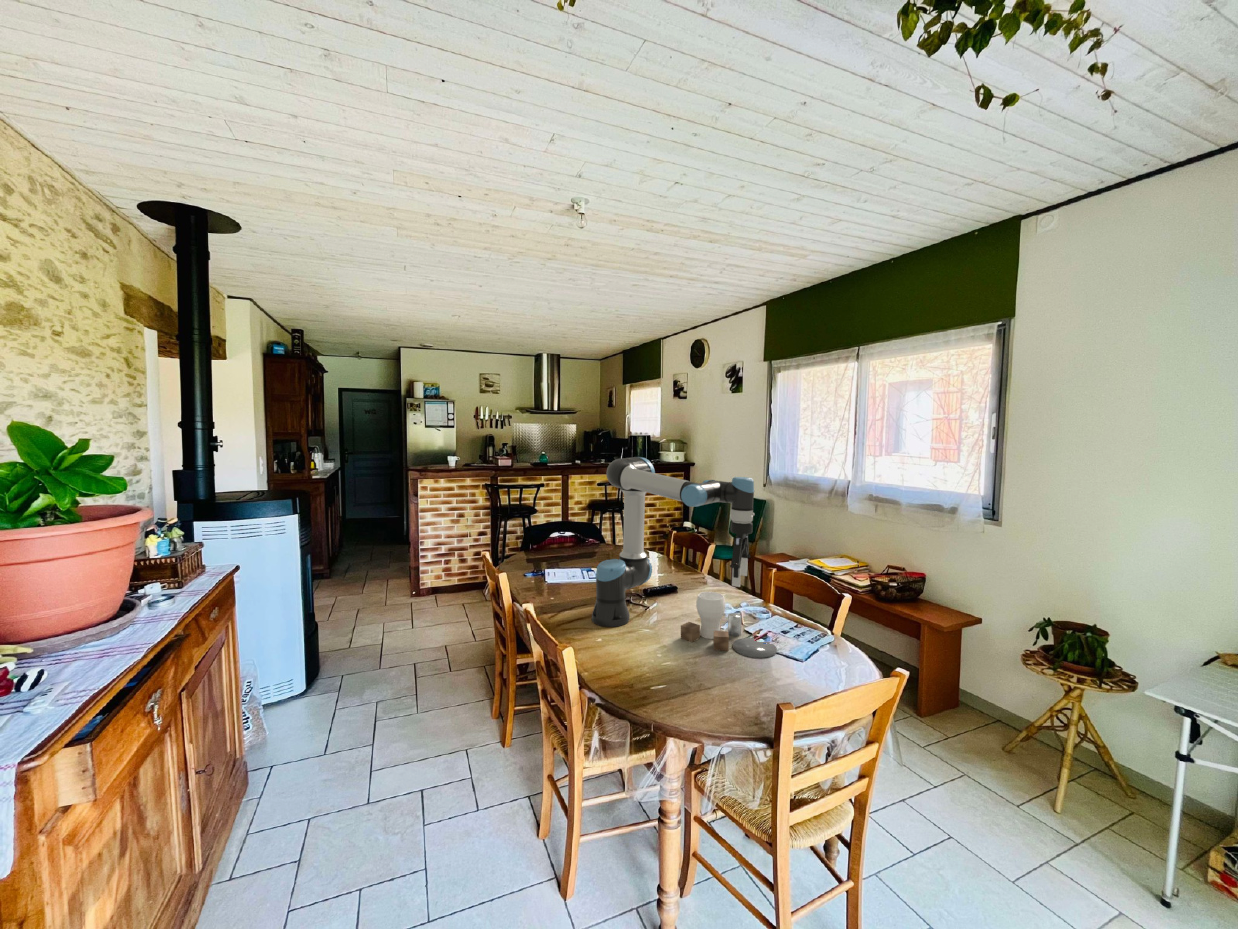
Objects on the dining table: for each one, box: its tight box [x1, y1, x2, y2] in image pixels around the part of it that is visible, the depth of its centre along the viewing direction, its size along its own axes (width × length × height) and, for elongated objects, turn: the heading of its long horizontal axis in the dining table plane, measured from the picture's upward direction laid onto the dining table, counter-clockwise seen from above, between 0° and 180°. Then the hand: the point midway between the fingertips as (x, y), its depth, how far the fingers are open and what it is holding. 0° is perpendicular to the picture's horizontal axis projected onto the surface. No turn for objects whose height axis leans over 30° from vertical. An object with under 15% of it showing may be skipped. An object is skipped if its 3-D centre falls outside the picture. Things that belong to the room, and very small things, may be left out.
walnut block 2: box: [713, 630, 730, 652], centre depth 180 cm, size 5×5×5 cm
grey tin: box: [727, 612, 742, 637], centre depth 192 cm, size 5×5×7 cm
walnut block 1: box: [680, 621, 701, 643], centre depth 188 cm, size 5×5×5 cm
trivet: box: [732, 637, 778, 659], centre depth 179 cm, size 15×15×1 cm
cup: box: [696, 591, 726, 640], centre depth 190 cm, size 11×11×15 cm
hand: (739, 580), depth 181 cm, fingers open, 13 cm apart
